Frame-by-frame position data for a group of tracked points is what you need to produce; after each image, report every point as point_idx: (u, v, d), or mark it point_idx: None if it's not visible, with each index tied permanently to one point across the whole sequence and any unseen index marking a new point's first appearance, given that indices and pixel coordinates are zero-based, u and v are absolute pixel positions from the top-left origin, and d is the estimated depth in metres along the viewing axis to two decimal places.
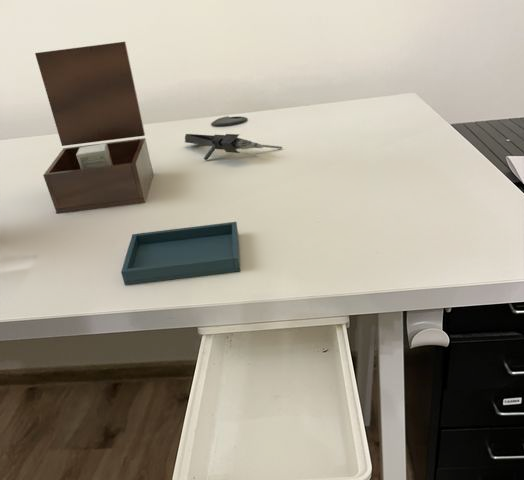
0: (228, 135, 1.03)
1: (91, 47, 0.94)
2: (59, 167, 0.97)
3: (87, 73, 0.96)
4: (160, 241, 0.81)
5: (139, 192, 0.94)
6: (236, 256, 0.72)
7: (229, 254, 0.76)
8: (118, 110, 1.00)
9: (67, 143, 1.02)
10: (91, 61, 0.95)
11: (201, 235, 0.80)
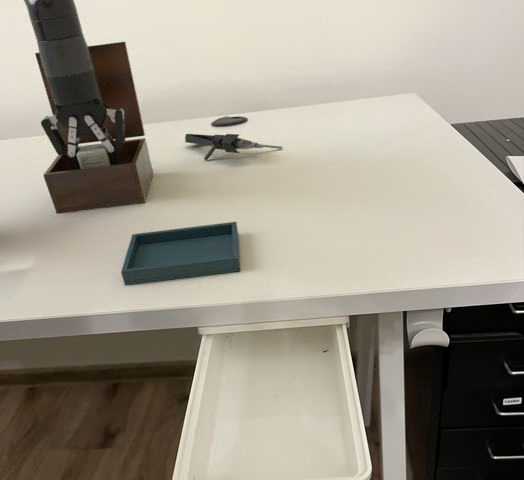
0: (228, 135, 1.03)
1: (91, 47, 0.94)
2: (59, 167, 0.97)
3: None
4: (160, 241, 0.81)
5: (139, 192, 0.94)
6: (236, 256, 0.72)
7: (229, 254, 0.76)
8: None
9: (67, 143, 1.02)
10: None
11: (201, 235, 0.80)
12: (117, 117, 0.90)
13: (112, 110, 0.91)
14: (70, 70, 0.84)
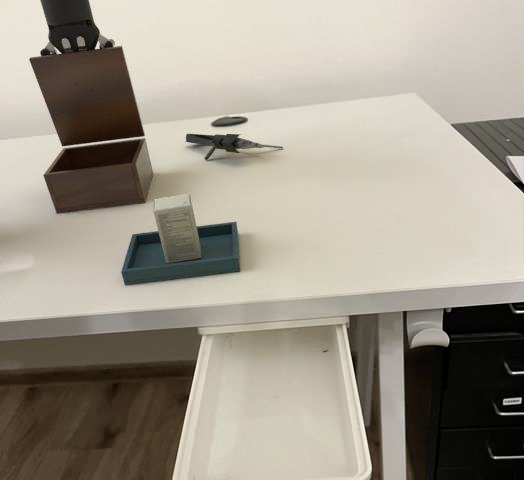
0: (229, 135, 1.04)
1: (87, 53, 0.91)
2: (59, 167, 0.97)
3: (84, 77, 0.94)
4: (160, 241, 0.81)
5: (139, 192, 0.94)
6: (236, 256, 0.72)
7: (229, 254, 0.76)
8: (117, 113, 0.99)
9: (67, 144, 1.02)
10: (88, 66, 0.93)
11: (201, 235, 0.80)
12: (106, 47, 0.93)
13: (104, 38, 0.93)
14: None
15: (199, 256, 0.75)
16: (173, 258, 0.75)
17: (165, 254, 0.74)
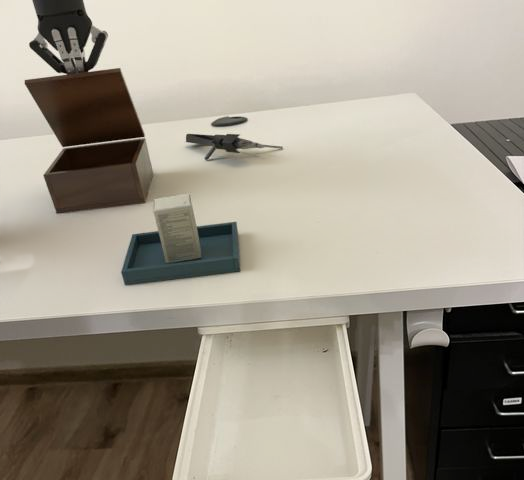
0: (229, 135, 1.04)
1: (85, 77, 0.88)
2: (59, 167, 0.97)
3: (82, 96, 0.92)
4: (160, 241, 0.81)
5: (139, 192, 0.94)
6: (236, 256, 0.72)
7: (229, 254, 0.76)
8: (117, 121, 0.98)
9: (67, 145, 1.02)
10: (86, 87, 0.90)
11: (201, 235, 0.80)
12: (99, 39, 0.88)
13: (96, 30, 0.88)
14: None
15: (199, 256, 0.75)
16: (173, 258, 0.75)
17: (165, 254, 0.74)
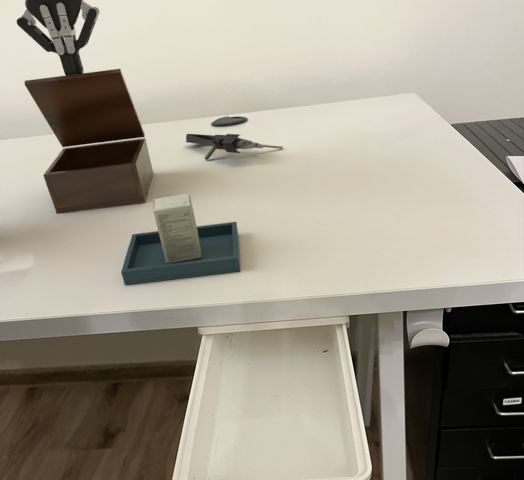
0: (229, 135, 1.04)
1: (85, 77, 0.88)
2: (59, 167, 0.97)
3: (82, 96, 0.92)
4: (160, 241, 0.81)
5: (139, 192, 0.94)
6: (236, 256, 0.72)
7: (229, 254, 0.76)
8: (117, 121, 0.98)
9: (67, 145, 1.02)
10: (86, 88, 0.90)
11: (201, 235, 0.80)
12: (89, 15, 0.84)
13: (87, 6, 0.84)
14: None
15: (199, 256, 0.75)
16: (173, 258, 0.75)
17: (165, 254, 0.74)
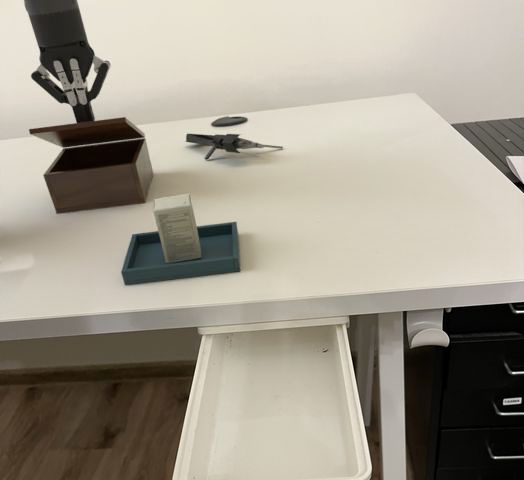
0: (229, 135, 1.04)
1: (90, 126, 0.88)
2: (59, 167, 0.97)
3: (86, 132, 0.92)
4: (160, 241, 0.81)
5: (139, 192, 0.94)
6: (236, 256, 0.72)
7: (229, 254, 0.76)
8: (119, 135, 0.98)
9: None
10: (90, 129, 0.90)
11: (201, 235, 0.80)
12: (101, 69, 0.87)
13: (99, 60, 0.87)
14: (53, 7, 0.79)
15: (199, 256, 0.75)
16: (173, 258, 0.75)
17: (165, 254, 0.74)
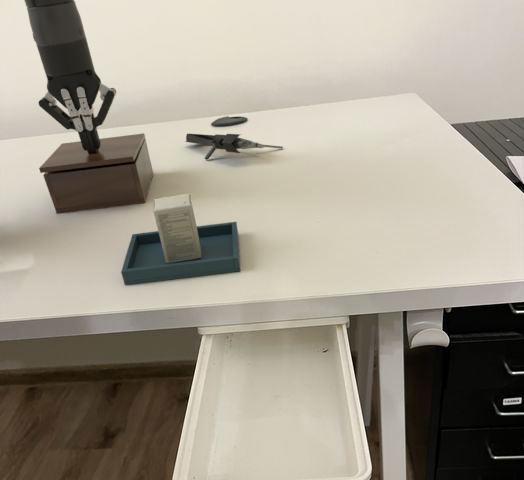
0: (229, 135, 1.04)
1: None
2: None
3: None
4: (160, 241, 0.81)
5: (139, 192, 0.94)
6: (236, 256, 0.72)
7: (229, 254, 0.76)
8: None
9: None
10: None
11: (201, 235, 0.80)
12: (107, 97, 0.89)
13: (105, 88, 0.88)
14: (61, 38, 0.81)
15: (199, 256, 0.75)
16: (173, 258, 0.75)
17: (165, 254, 0.74)
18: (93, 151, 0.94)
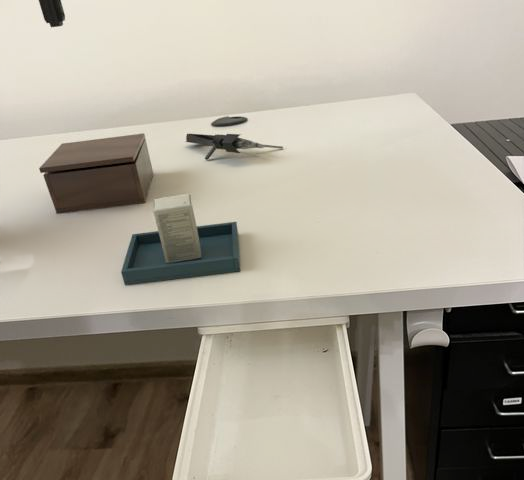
0: (229, 135, 1.04)
1: None
2: None
3: None
4: (160, 241, 0.81)
5: (139, 192, 0.94)
6: (236, 256, 0.72)
7: (229, 254, 0.76)
8: None
9: None
10: None
11: (201, 235, 0.80)
12: None
13: None
14: None
15: (199, 256, 0.75)
16: (173, 258, 0.75)
17: (165, 254, 0.74)
18: (56, 23, 0.82)
